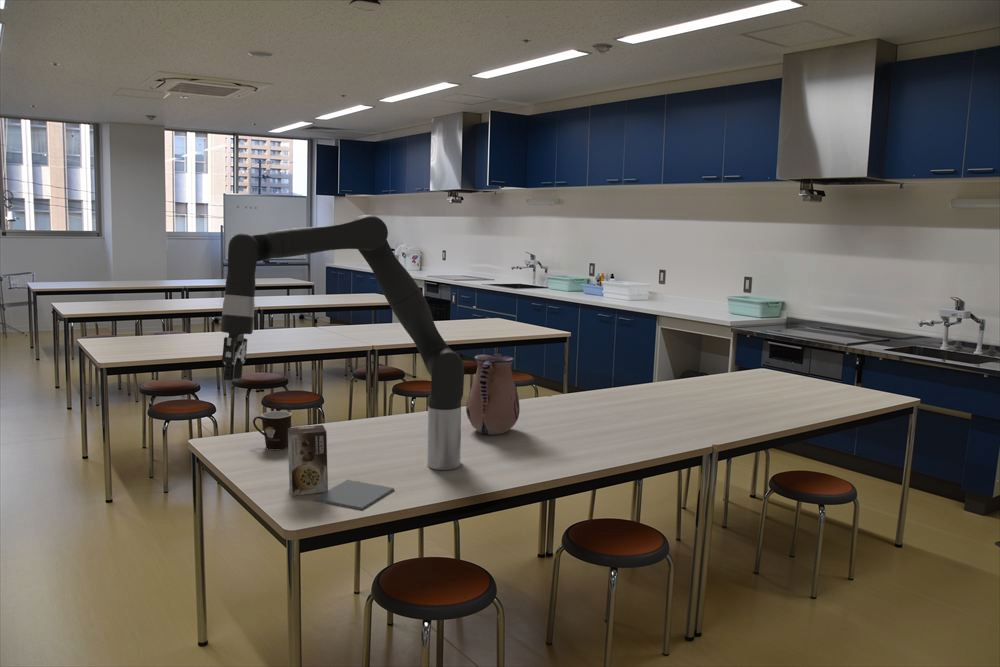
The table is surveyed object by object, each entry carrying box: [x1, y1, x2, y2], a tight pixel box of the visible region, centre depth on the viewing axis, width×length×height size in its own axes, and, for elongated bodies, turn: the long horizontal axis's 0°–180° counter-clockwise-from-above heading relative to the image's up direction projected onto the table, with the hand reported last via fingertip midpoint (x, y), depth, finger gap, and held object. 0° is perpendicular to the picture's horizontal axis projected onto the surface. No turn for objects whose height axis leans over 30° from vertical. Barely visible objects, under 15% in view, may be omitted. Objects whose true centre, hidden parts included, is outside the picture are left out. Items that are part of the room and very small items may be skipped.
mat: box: [312, 479, 395, 510], centre depth 195 cm, size 15×14×1 cm
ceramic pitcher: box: [465, 353, 521, 436], centre depth 253 cm, size 18×21×25 cm
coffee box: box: [287, 424, 329, 497], centre depth 197 cm, size 9×6×16 cm
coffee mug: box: [252, 410, 292, 450], centre depth 234 cm, size 12×9×10 cm
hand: (232, 379), depth 193 cm, fingers open, 8 cm apart
